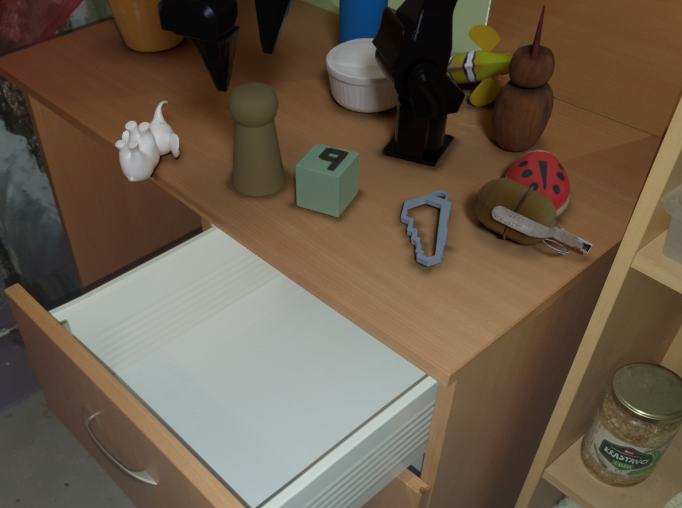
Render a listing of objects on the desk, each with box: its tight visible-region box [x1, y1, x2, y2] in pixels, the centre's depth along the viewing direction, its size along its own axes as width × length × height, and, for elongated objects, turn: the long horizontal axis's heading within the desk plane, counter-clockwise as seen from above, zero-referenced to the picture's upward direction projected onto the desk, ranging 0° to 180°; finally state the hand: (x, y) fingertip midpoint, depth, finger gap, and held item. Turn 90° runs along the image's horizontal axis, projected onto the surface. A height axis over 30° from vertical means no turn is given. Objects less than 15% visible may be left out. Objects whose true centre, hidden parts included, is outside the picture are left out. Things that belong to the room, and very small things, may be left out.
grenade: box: [474, 177, 593, 256], centre depth 71 cm, size 6×6×12 cm
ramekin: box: [325, 38, 399, 114], centre depth 92 cm, size 11×11×5 cm
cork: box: [227, 81, 287, 197], centre depth 78 cm, size 6×6×11 cm
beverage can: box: [338, 0, 389, 45], centre depth 98 cm, size 6×6×12 cm
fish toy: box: [447, 24, 513, 107], centre depth 92 cm, size 15×10×12 cm
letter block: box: [294, 142, 360, 218], centre depth 77 cm, size 5×5×5 cm
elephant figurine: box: [114, 100, 181, 183], centre depth 83 cm, size 7×12×6 cm, turn 161°
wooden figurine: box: [491, 5, 556, 153], centre depth 79 cm, size 7×6×15 cm
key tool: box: [400, 190, 453, 267], centre depth 74 cm, size 12×1×5 cm
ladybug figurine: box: [504, 149, 571, 218], centre depth 76 cm, size 7×10×4 cm
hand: (246, 71), depth 74 cm, fingers open, 9 cm apart
